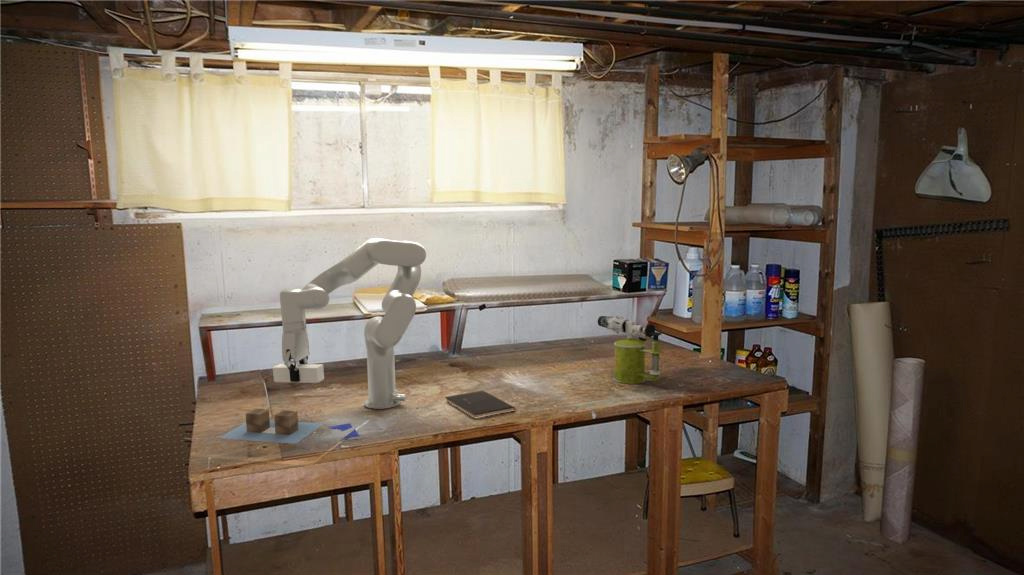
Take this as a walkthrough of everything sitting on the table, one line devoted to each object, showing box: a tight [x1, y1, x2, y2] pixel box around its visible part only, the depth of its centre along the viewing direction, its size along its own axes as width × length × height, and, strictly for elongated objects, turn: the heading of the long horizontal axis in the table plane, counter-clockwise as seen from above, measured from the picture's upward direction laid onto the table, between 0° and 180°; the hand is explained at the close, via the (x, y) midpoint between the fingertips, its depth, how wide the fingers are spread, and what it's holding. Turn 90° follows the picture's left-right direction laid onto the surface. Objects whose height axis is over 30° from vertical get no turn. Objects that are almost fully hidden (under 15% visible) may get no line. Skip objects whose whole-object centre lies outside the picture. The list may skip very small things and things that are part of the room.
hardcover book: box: [445, 390, 516, 419], centre depth 240 cm, size 16×23×2 cm
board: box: [218, 419, 325, 445], centre depth 214 cm, size 26×18×1 cm
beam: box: [272, 363, 325, 384], centre depth 228 cm, size 16×4×5 cm, turn 79°
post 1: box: [245, 408, 271, 433], centre depth 215 cm, size 5×5×6 cm
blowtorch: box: [597, 315, 664, 385], centre depth 270 cm, size 13×33×25 cm, turn 36°
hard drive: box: [328, 423, 361, 442], centre depth 214 cm, size 2×8×12 cm
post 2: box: [274, 409, 299, 435], centre depth 213 cm, size 5×5×6 cm
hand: (299, 378), depth 228 cm, fingers closed on beam, 4 cm apart
